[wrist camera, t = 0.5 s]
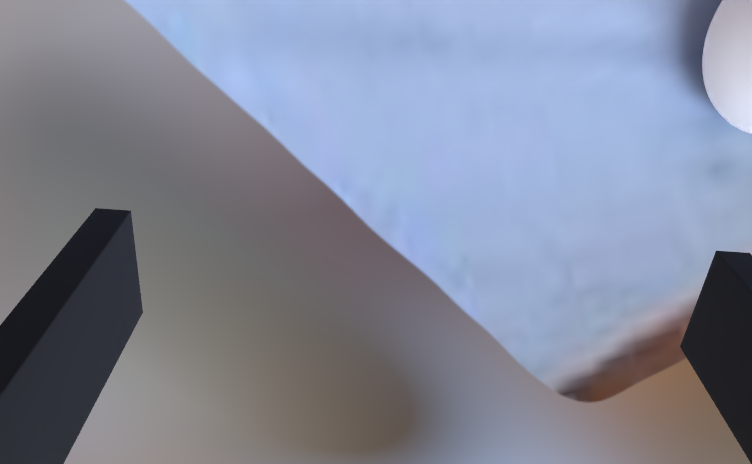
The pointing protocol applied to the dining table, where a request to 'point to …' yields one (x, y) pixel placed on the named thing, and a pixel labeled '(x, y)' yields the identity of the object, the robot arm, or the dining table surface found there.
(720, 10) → the flower in vase
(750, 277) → the robot arm
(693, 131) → the dining table surface
